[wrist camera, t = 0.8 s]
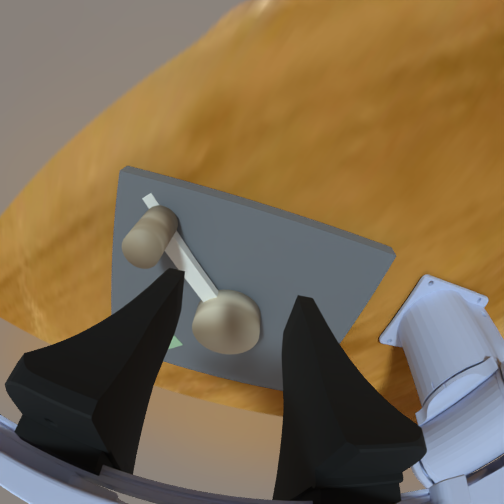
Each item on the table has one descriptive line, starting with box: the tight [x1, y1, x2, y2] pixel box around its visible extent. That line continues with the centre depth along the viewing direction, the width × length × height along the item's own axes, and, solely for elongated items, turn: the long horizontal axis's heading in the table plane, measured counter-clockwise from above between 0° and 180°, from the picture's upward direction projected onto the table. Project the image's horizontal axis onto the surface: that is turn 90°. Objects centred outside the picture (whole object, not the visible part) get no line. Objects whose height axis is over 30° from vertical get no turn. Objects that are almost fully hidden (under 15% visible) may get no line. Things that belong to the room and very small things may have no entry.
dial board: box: [111, 166, 396, 391], centre depth 25 cm, size 20×18×1 cm
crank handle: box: [122, 205, 261, 354], centre depth 21 cm, size 13×5×4 cm, turn 28°
